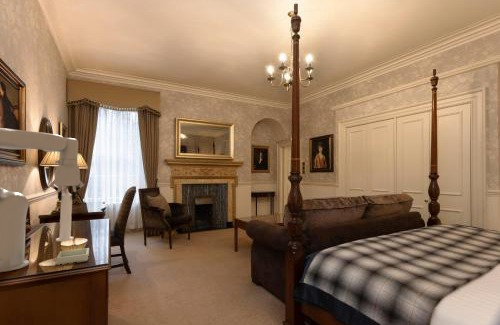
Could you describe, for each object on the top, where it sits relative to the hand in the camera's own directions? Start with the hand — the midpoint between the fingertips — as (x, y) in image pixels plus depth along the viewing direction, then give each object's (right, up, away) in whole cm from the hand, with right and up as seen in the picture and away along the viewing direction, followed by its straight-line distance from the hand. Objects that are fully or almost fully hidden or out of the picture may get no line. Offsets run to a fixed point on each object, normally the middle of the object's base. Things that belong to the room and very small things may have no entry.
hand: (66, 199), depth 131 cm
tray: (+9, -26, -8) cm, 29 cm away
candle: (0, -20, -1) cm, 20 cm away
